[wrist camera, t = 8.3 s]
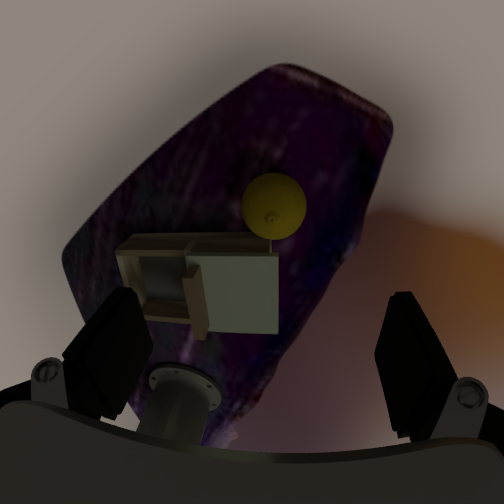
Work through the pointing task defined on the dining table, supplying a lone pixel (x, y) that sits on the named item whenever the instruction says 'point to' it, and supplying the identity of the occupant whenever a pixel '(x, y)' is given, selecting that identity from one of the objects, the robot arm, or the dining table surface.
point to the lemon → (273, 206)
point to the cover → (232, 292)
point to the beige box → (173, 266)
